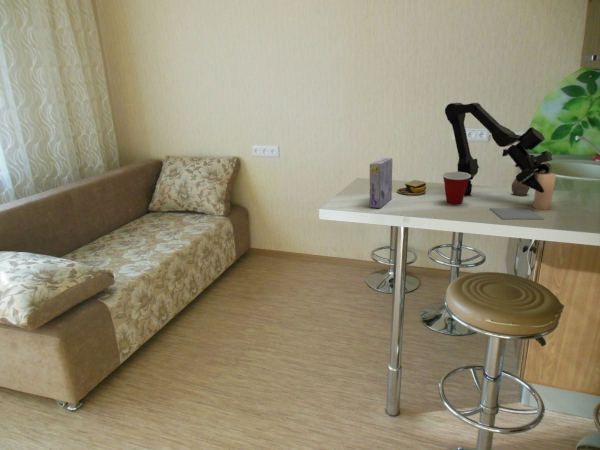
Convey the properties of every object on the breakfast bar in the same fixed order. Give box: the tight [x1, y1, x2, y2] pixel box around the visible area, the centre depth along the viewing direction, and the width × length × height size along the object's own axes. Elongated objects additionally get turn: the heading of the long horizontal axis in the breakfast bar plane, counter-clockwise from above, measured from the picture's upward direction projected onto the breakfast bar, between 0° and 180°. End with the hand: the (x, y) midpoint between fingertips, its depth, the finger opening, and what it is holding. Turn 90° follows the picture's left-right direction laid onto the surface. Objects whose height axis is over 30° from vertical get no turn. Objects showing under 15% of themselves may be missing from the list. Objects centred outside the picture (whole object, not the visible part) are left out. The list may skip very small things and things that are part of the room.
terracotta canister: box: [532, 172, 557, 211], centre depth 167 cm, size 6×6×13 cm
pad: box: [489, 207, 545, 221], centre depth 161 cm, size 14×14×1 cm
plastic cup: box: [441, 171, 471, 206], centre depth 176 cm, size 11×11×12 cm
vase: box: [511, 178, 531, 197], centre depth 188 cm, size 7×7×9 cm
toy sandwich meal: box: [396, 179, 427, 196], centre depth 198 cm, size 12×14×5 cm
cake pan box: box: [369, 157, 393, 209], centre depth 179 cm, size 19×5×18 cm, turn 154°
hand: (548, 190), depth 166 cm, fingers open, 9 cm apart
